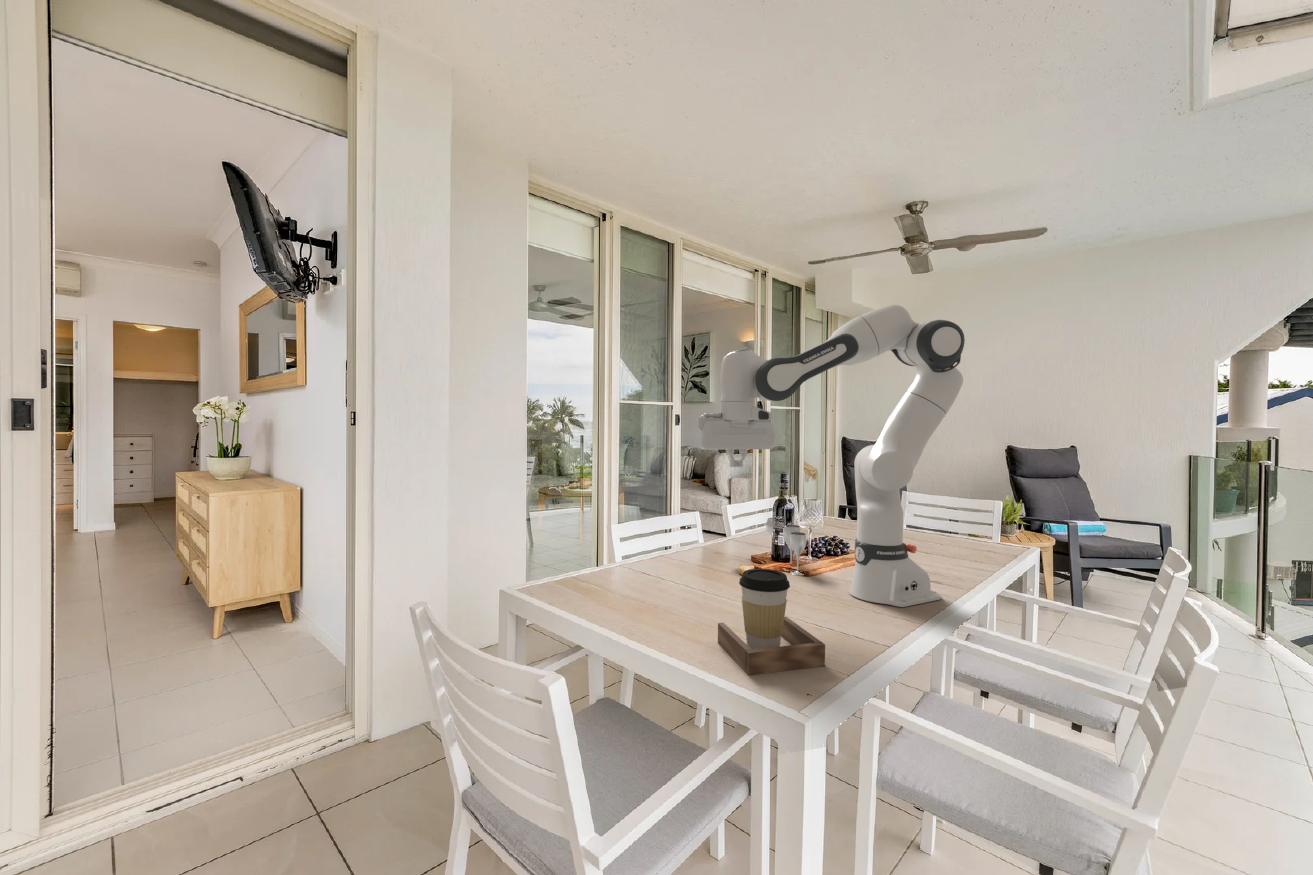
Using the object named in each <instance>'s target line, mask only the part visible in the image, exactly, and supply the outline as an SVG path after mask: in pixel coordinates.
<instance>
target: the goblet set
mask: <svg viewBox="0 0 1313 875" xmlns="http://www.w3.org/2000/svg"><path fill="white" fill-rule="evenodd" d="M773 518H774V517H768V518H767V519H766V522H765V529H766V531H767V532H768V533H769V535H770V536H771V537H772V538H773ZM783 537H784V540H785V542H786V544H787V547H788V549H789V552H790V555H789V556H790V563H791V564H792V565H793V552H794V555H795V556H796V567H797V570H790V573H789V574H790V575H793V576H805V575H804V574H802V573H800V572H801V571H800V572H799V569H798V568H799V563H800V556H801V554H803V551H804V550H805V548H806V546H807V545H806V544H807V534H806V533H805V532H801V527H800V525H798V524H792V521H790V523H788V524H787V525H784V528H783ZM770 553H771V552H768V553H766V554H767V555H768V554H770ZM792 571H794V572H792Z"/></svg>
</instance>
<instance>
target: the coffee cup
mask: <svg viewBox="0 0 1313 875" xmlns="http://www.w3.org/2000/svg"><path fill="white" fill-rule="evenodd" d="M741 575H742V576H740V578H739V582H738V584H739V585H740V586H741V594H742V595H741V603H742V604H741V605H742V616H743V625H744V632H745V636H746V637H745V639H746V644H747V645H748V646H749V647H750V648H751V649H752V650H753V649H762V648H771V647H780V646H781V639H782V636H781V635H782V631H783V624H784V617H786V616H785V615H786V608H787V607H786V606H787V602H788V600H787V595H788V590H789V588H790V587H791V584H790V581H789V579H788V577H787V574H786V573H785V572H782V571H779V570H776V569H770V568H750V569H746V570H744V571H743V572H742V574H741Z"/></svg>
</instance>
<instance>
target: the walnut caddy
mask: <svg viewBox="0 0 1313 875" xmlns="http://www.w3.org/2000/svg"><path fill="white" fill-rule="evenodd" d="M781 638H782V639H784V640H785V641H786V642H788V643H789V644H790V645H782V646H781V645H780V647H771V648H762V649H753V650H752V649H751V648H750V647H749V646H748V645H747V642H745V641H743V640H742V638H740V636H738V635H737V634H736V633H735V632H734V631H733V630H732V629H731V628H730V627H729V626H728V625H727V624H725V622H718V623H717V643H718V644H719V645H720V647H721V648H722V649H723V651H725V652H726V653H727V654H728V655H729V656H730V658H732V659H733V660H734V662H736V663H737V665H738V666H739V667H740V668H741V669H742V670H743V671H744V672H745V673H746V674H747V675H748V676H752V675H760V674H768V673H776V672H786V671H793V670H802V669H811V668H816V667H825V664H826V644H825V643H824V642H823V641H821V640H820V639H818V638H817V637H816V636H814V635H813V634H811V633H810V632H808V631H807V630H806V629H804V628H803V627H801V626H800V625H799V624H797V623H796V622H795V621H793V620H792V619H791V618H789V617H788V616H784V624H783V631H782V635H781Z"/></svg>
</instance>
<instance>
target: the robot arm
mask: <svg viewBox="0 0 1313 875" xmlns="http://www.w3.org/2000/svg"><path fill="white" fill-rule="evenodd" d="M965 344H966V343H965V334H964V331H963V330H962V328H961V327H960V325H958V324H956V323H955V322H952V321H950V320H945V319H936V320H929V321H928V320H927V321H923V322H915V321H914V320H913V319H912V316H911V314H910V313H909V312H908V310H907V309H906V308H904V307H903V306H902V305H899V304H890V305H885V306H882V307H878V308H876V309H873V310H871V311H868V312H865V313H862V314H861V315H858V316H857V317H855V318H853V319H851V320H849V321H847V322H845V323H843V325H841V326H840V327H839V328H836V330H834V331H833V332H832V334H831V335H830V337H829V338H827V340H825V341H824V342H822V343H821V344H819V345H817V346H814V347H813V348H810V349H808V350H805V351H804V352H802V353H798V354H797V355H794V356H792V357H775V358H774V357H773V358H771V359H767V358H763V357H762V356H760V355H758V354H757V353H755V352H754V351H753V350H751V349H746V348H745V349H739V350H738V349H737V350H733V351H730V352H729V353H727V354H725V355H724V357H723V358H722V362H721V366H720V379H719V380H720V382H719V383H720V390H721V396H720V399H719V413H718V412H716V413H715V412H714V413H710V412H707V413H704V414H702V415H701V416H700V417H699V418H698V428H699V431H698V439H697V440H698V442H697V445H698V447H699V449H701V450H708V451H709V450H711V451H712V450H714V451H715V450H722V451H723V450H725V454H726V456H727V458H728V460H729V466H730V468H743V467H744V460H745V458H746V457H747V455H748V450H773V448H774V447H775V444H776V435H775V434H776V433H775V425H774V424H773V422H771V421H772V420H773V413H772V412H771V411H769V410H765V409H762V408H760V407H757V406H756V404H755V401H756V399H761V400H765V401H768V402H779V401H785V400H787V399H788V398H790V397H792V396H793V395H794V394H795V392H797V390H798V389H799V388H800V386H802V384H804V382H806V381H808V380H810V379H812V378H814V377H816V376H817V375H819V374H822V373H824V372H826V371H828V370H831V369H833V368H836V367H838V366H839V367H840V366H854V365H858V364H860V363H864V362H867V361H870V360H872V359H875V357H876V358H877V357H879V356H880V355H882V354H885V353H886V352H889V351H891V352H892V353H893V355H894V357H896V359H897V360H898V361H900V362H901V363H902V364H904V365H905V366H909V367H915V369H916V370H915V376H914V378H913V380H912V383H911V384H910V385H909V386H908V388H907V389H906V391H905V392H904V393H903V395H902V397H901V398H900V400H898V402H897V403H896V406H895V407H894V408H893V409H892V411H891V412H890V414H889V415H888V417H887V419H886V422H885V424H884V427H883V429H882V431H881V433H880V435H879V437H878V438H877V440H876V441H875V444H871V445H866V446H865V447H863V448H862V449H861V450H860V451H858V452H857V454H856V455H855V459H854V481H855V482H854V484H855V487H854V488H855V495H856V496H855V497H856V507H857V508H856V509H857V510H856V511H857V516H856V518H857V519H856V538H855V540H854V559H855V562H854V570H853V571H854V572H853V575H852V580H851V583H850V587H849V589H848V593H849V594H850V595H851V596H853V597H855V598H857V599H860V600H862V601H866V602H870V603H877V604H883V605H890V606H894V607H899V608H900V607H901V608H904V607H910V606H916V605H919V604H925V603H929V602H934V601H938V600H941V599H942V596H941V594H940V593H939V592H938V591H936V590H934V589H933V588H932V587H931V579H930V576H929V574H928V572H927V571H926V570H925V569H924V568H922V567H921V566H920V565H919V564H917V563H916V562H915V561H914V560H913V559H911V558H910V557H909V554H908V553H911V554H916V552H917V551H918V548H917V545H914V544H910V543H909V544H906V543H905V542H904V538H903V537H904V509H903V506H902V500H901V493H900V492H901V491H900V489H902V488H904V487H906V486H907V485H908V484H909V483H910V482H911V479H912V477H913V475H914V474H913V473H914V470H915V468H916V466H917V464H918V462H919V460H920V458H921V457H922V454H923V452H924V449H925V447H927V446H926V445H927V444H928V442H929V440H930V438H931V437H932V436H933V434H934V432H936V430H937V429H938V427H939V426H940V424H941V422H943V419H944V418H945V417H946V415H947V414H948V413H949V411H950V409H951V408H952V407H953V404H954V402H956V398H958V395H959V393H960V391H961V389H962V386H963V383H964V377H963V374H962V373H961V371H960V369H958V368H957V366H959V364H960V363H961V358H962V353H963V351H964V347H965ZM735 450H738V453H739V454H740V455H739V457H738V458H737V459H735V457H734V456H733V455H734V454H735Z"/></svg>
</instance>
